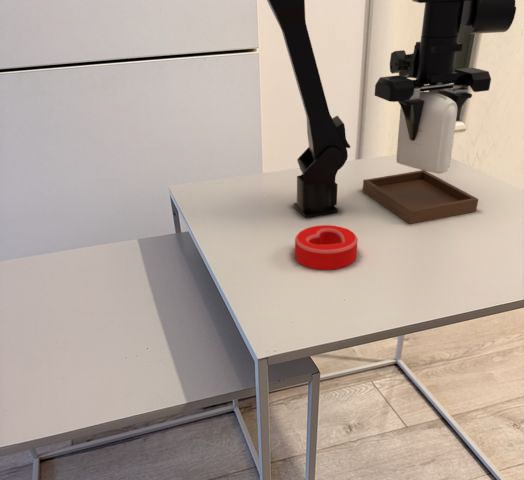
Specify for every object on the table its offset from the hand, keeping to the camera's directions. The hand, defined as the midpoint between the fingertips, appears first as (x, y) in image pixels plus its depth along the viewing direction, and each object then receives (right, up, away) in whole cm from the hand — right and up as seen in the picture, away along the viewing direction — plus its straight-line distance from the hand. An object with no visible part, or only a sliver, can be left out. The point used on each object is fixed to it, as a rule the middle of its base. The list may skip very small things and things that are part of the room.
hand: (425, 138), depth 94 cm
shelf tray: (+1, -9, +8) cm, 12 cm away
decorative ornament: (-19, -22, -9) cm, 30 cm away
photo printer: (0, -4, +3) cm, 5 cm away
